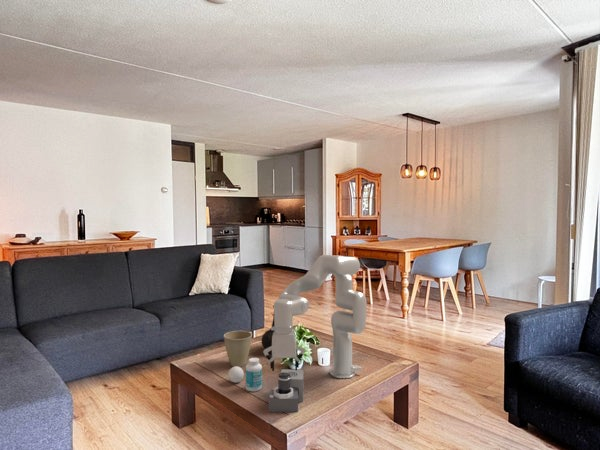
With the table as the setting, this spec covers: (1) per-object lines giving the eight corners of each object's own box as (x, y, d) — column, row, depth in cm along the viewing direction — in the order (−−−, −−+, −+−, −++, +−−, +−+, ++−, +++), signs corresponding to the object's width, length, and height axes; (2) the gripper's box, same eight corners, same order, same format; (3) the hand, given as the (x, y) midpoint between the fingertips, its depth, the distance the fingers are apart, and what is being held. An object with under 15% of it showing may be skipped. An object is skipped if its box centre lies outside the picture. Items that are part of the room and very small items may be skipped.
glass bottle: (256, 353, 221) (255, 305, 220) (270, 343, 237) (270, 298, 236) (284, 358, 214) (284, 308, 213) (297, 347, 230) (297, 301, 229)
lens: (290, 396, 159) (290, 377, 159) (277, 396, 159) (277, 377, 159) (290, 390, 164) (290, 372, 164) (278, 390, 164) (278, 372, 164)
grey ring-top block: (297, 401, 166) (297, 385, 166) (298, 411, 158) (298, 394, 158) (269, 402, 166) (269, 386, 165) (268, 412, 158) (268, 395, 157)
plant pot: (250, 370, 198) (249, 339, 198) (221, 369, 199) (221, 339, 198) (254, 358, 213) (253, 330, 213) (227, 358, 214) (227, 330, 213)
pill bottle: (255, 393, 173) (255, 364, 173) (242, 389, 177) (242, 360, 177) (265, 387, 180) (265, 358, 179) (252, 383, 183) (252, 355, 183)
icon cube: (279, 401, 166) (279, 379, 166) (281, 390, 176) (281, 369, 176) (303, 402, 166) (303, 379, 165) (303, 391, 176) (303, 369, 175)
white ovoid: (247, 382, 185) (246, 367, 184) (233, 386, 180) (233, 371, 180) (235, 375, 192) (235, 360, 192) (222, 379, 187) (222, 364, 187)
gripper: (262, 333, 156) (263, 374, 158) (304, 332, 157) (305, 372, 158) (263, 327, 164) (264, 366, 165) (304, 325, 164) (305, 365, 166)
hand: (284, 369), depth 162 cm, fingers open, 9 cm apart
